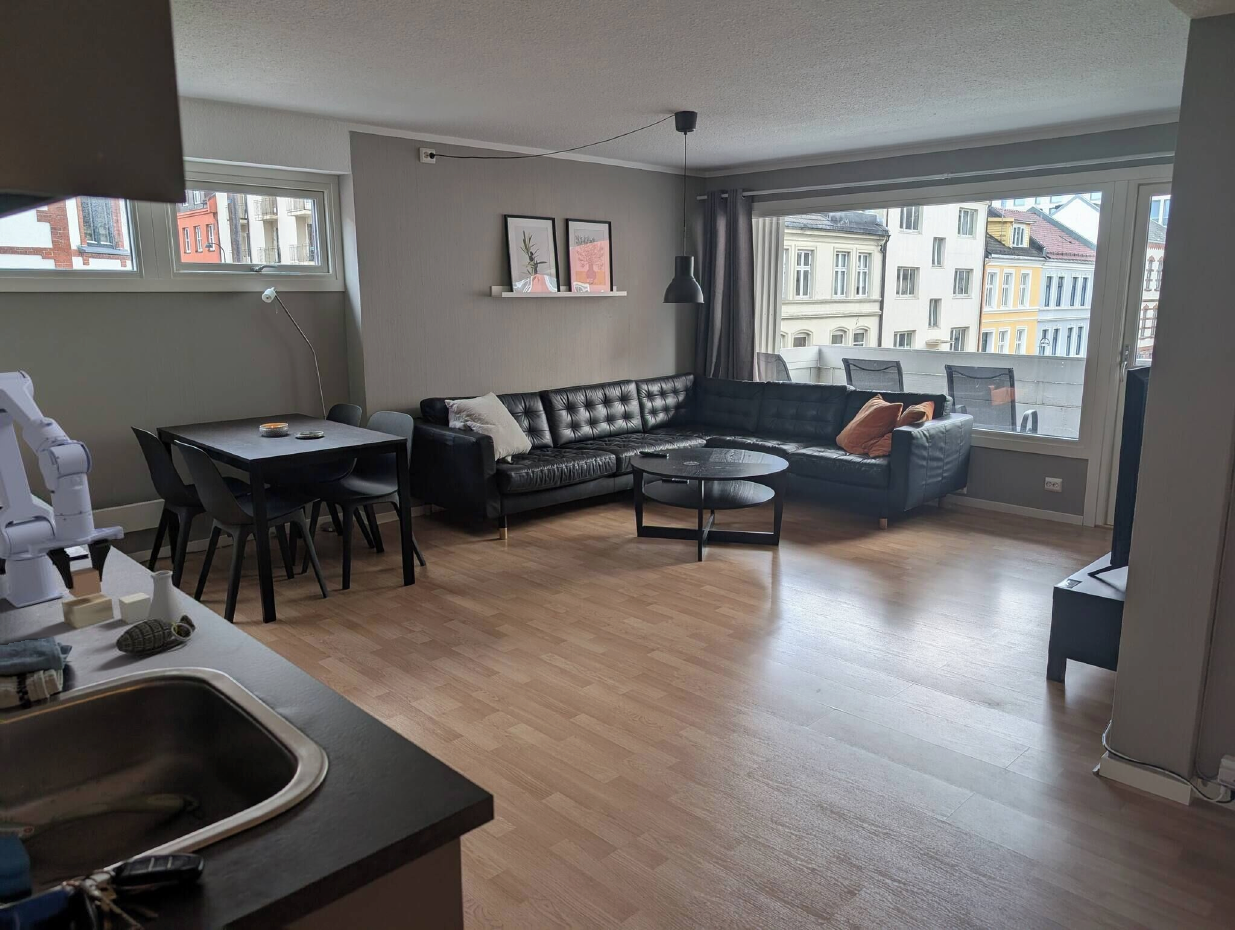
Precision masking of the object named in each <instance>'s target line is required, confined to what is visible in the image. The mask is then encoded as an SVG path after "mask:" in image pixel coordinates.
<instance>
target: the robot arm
mask: <svg viewBox="0 0 1235 930" xmlns="http://www.w3.org/2000/svg"><path fill="white" fill-rule="evenodd" d="M34 394H35V392H34V384H33V381H32V379H31V377H30V375H28V374H27V373H26V372H25V371H24V370H18V371H10V372H0V502H1V506H2V508H0V558H1V559H2V560H3V559H5V564H4V570H5V576H6V580H7V587H8V593H5V594H3V597H4V599H6V600H7V601H8V602H9V603H11V604H12V605H13V606H15V608H22V607H26V606H29V605H30V606H31V605H35V604H38V603H42V602H47V601H51V600H54V599H60V598H64V597H65V593H64V592H62V591H61V590H59V589H57V585H56V578H55V571H54V570H55V569H54V566H55V568H56V570H57V571H58V573H59V574H60V576H61V579H62V580H63V583H64V586H65V588H66V589H68V590H69V589H73V580H72V576H71V571H72V570H71V555H70V554H69V553H67V552H68V551H67V550H68V549H70V548H76V547H81V546H85V545H87V549H88V552H89V556H90V560H91V567H92V568H94V569H96V570H97V571H99V578H100V583H102V582H103V573H104V568H105V563H106V560H107V558H108V555H109V553H110V551H111V548H112V545H111V542H109V540H114V539H123V538H124V536H125V535H124V528H123V527H121V526H120V525H117V526H112V527H110V526H109V527H105V528H104V527H103V528H96V529H95V522H94V517H93V510H92V503H91V495H90V491H89V490H90V489H89V483H88V477H87V475H88V474H89V473H90V472H91V470H92V458H91V454H90V451H89V450H88V447H87V446H86V445H85V443H84V442H83V441H77V440H76V439H70V437H69V436H68V435H67V434H66V433H65V431H64V430H63V429H62V428H61V427H60V425H59V424H58V423H57V421H56V420H54V419H53V418H50V417H45V416H44V415H43V413H42V412H41V410H40V409H39V407H38V405H37V404H36V402H35V401H34ZM14 421H16V422H17V423H18V424H19V425H20V426H21V427H22V428H23V429H22V433H21V434H22V435H21V436H22V439H23V440H24V442H25V443H27V444H28V445H27V446H29V448H30V449H31V450H32V452H34V454H35V455H36V457H38V467H39V469H40V470H39V471H40V472H41V474H42V476H43V479H44V484H45V487H46V489H48V490H49V492H50V493H49V494H50V498H51V500H50V501H51V504H52V511H53V515H52V512H51V510H50V509H49V508H46V507H44V506H42V505H41V504H40V505H39V504H37V503H35V502H34V500H33V497H32V493H31V489H30V486H29V482H28V477H27V475H26V470H25V467H24V462H23V459H22V455H21V451H20V448H19V444H18V439H17V437H16V433H15V429H14V428H15V427H14V425H13V423H14ZM28 518H29V519H28ZM30 518H32V519H30ZM24 519H28V520H24ZM19 520H24V521H20V522H16V523H15V522H14V521H19ZM10 522H14V523H10ZM9 523H10V524H9ZM65 549H67V550H65ZM53 565H54V566H53Z"/></svg>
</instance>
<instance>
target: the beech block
mask: <svg viewBox="0 0 1235 930" xmlns="http://www.w3.org/2000/svg"><path fill="white" fill-rule="evenodd" d="M60 603H61V607H62V608H61V609H62V613H63V620H64V622H65V623H67V624H69V625H70V626H72V627H74V628H76V629H82V628H85V627H88V626H89V627H90V626H93V625H95V624H99V623H102V622H103V623H104V622H106V621H110V620H114V619H115V615H114V608H113V602H112V598H111V597H108V596H107V595H104V594H102V592H100V593H96V594H92V595H88V596H84V597H80V598H75V597H73V598H69V599H66V600H62V601H61V602H60Z"/></svg>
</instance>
